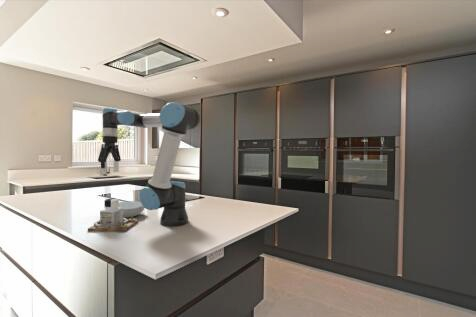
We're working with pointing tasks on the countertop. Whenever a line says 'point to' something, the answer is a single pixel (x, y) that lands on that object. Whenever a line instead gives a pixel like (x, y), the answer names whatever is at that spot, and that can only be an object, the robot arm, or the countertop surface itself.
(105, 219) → the container
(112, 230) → the gear board
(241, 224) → the countertop surface
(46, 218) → the countertop surface
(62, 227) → the countertop surface
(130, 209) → the serving bowl
